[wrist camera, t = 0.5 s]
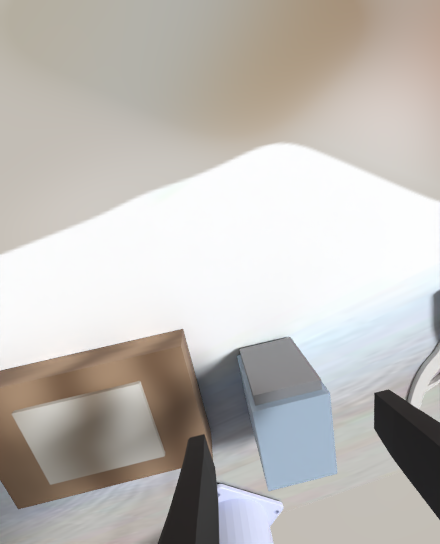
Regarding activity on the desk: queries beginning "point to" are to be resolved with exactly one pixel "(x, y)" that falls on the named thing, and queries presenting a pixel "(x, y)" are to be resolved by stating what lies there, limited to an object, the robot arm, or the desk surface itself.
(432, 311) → the desk surface
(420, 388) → the pliers
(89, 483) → the stand
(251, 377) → the block
